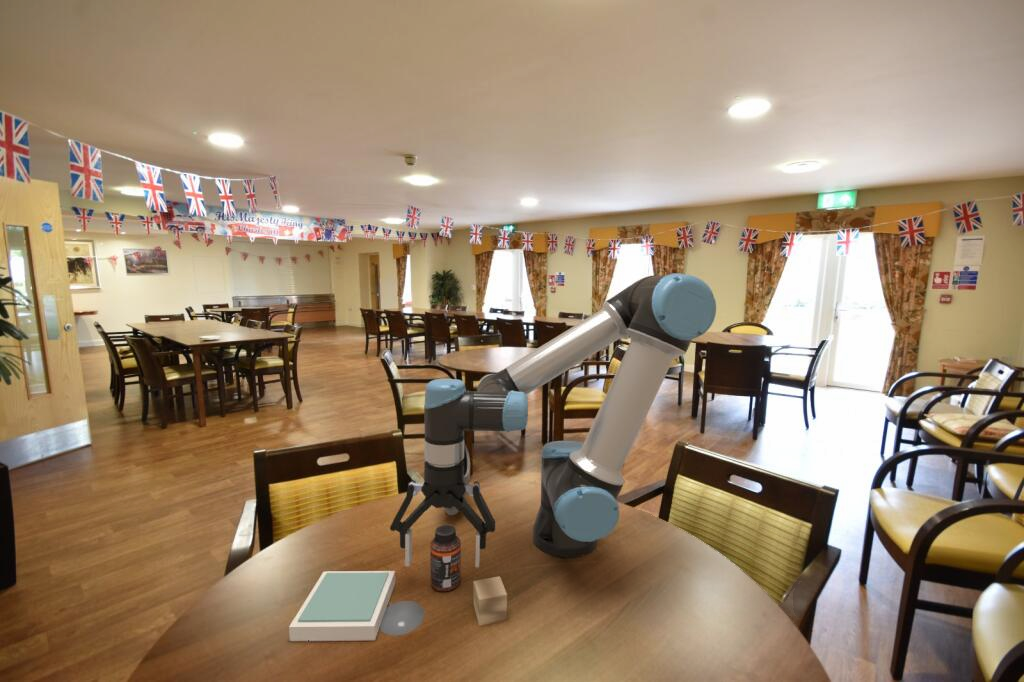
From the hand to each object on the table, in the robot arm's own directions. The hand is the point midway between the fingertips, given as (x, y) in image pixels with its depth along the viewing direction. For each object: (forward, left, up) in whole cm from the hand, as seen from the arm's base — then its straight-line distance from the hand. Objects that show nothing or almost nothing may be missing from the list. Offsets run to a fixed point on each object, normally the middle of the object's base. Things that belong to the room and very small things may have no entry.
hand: (443, 562), depth 85 cm
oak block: (-9, +8, -4) cm, 13 cm away
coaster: (+6, +9, -5) cm, 12 cm away
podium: (+17, +7, -4) cm, 18 cm away
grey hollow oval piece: (+1, -28, -5) cm, 28 cm away
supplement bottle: (0, 0, -5) cm, 5 cm away
